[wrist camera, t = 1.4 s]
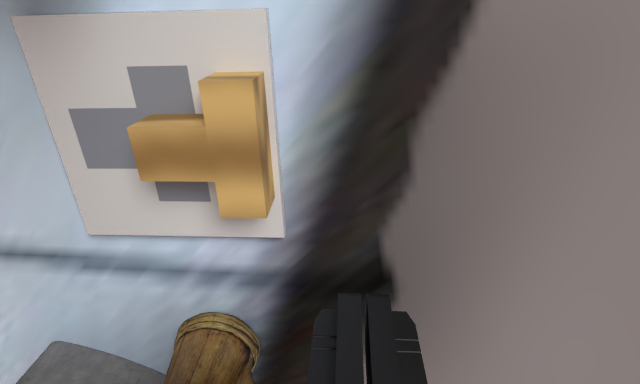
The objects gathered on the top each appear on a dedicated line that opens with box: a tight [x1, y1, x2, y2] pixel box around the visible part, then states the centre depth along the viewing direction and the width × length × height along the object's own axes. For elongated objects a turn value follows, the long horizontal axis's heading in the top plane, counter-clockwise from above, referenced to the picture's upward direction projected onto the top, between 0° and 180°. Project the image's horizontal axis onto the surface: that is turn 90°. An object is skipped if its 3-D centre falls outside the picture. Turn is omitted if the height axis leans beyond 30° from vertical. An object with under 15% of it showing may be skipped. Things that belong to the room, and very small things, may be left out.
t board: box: [10, 8, 286, 238], centre depth 30 cm, size 18×18×1 cm
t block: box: [127, 71, 275, 218], centre depth 28 cm, size 10×9×4 cm
